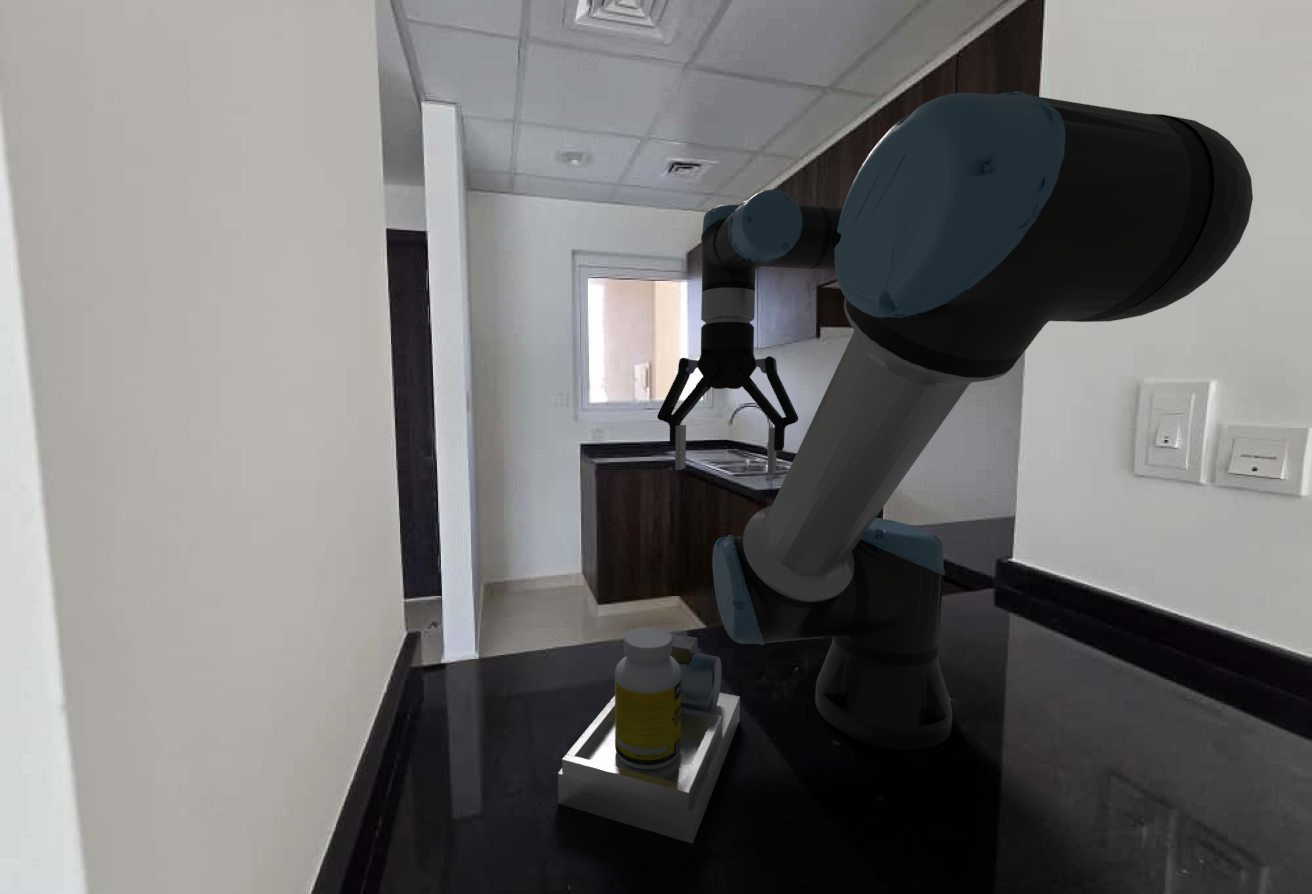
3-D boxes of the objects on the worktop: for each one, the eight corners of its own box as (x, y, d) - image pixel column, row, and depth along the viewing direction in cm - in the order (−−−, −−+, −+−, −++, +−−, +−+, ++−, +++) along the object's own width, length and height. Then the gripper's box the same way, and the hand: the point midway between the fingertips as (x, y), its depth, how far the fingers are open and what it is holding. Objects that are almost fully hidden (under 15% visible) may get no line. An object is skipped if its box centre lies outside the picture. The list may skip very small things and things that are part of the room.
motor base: (692, 843, 47) (694, 727, 46) (558, 803, 52) (557, 697, 51) (739, 721, 65) (741, 635, 64) (636, 699, 69) (636, 618, 68)
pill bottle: (674, 778, 51) (675, 656, 50) (606, 768, 52) (606, 649, 51) (685, 735, 57) (686, 626, 56) (624, 727, 59) (624, 621, 57)
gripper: (820, 323, 79) (815, 472, 81) (654, 329, 87) (653, 463, 89) (816, 316, 72) (810, 479, 74) (636, 323, 80) (636, 469, 82)
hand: (724, 471), depth 81 cm, fingers open, 13 cm apart
